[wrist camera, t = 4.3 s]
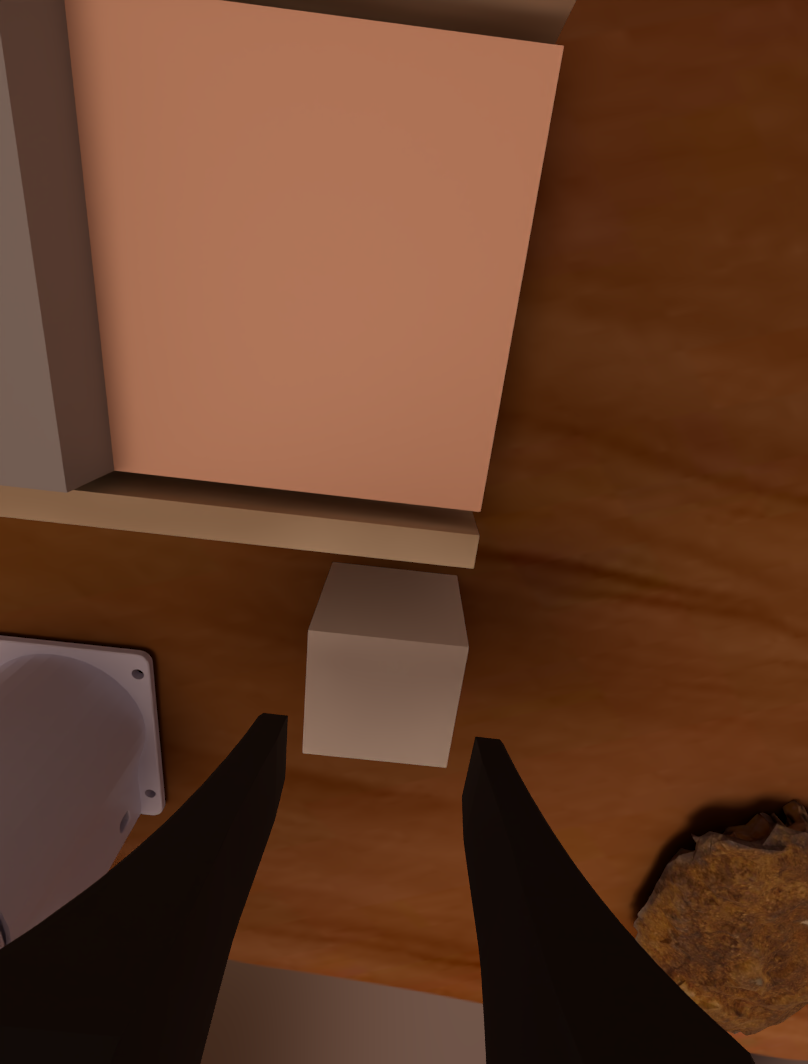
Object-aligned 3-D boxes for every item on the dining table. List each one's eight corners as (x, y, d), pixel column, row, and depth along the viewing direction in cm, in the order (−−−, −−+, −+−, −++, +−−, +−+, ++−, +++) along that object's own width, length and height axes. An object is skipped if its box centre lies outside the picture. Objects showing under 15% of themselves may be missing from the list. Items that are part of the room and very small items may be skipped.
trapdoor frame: (458, 504, 19) (473, 568, 14) (44, 457, 19) (-96, 505, 14) (527, 69, 14) (590, -75, 9) (-30, -4, 14) (-287, -196, 9)
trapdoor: (476, 500, 15) (490, 540, 12) (-7, 445, 15) (-107, 473, 12) (551, 69, 11) (596, -18, 8) (-97, -16, 11) (-275, -137, 8)
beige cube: (440, 676, 22) (446, 767, 18) (326, 664, 22) (302, 753, 17) (456, 574, 20) (468, 647, 16) (333, 560, 20) (308, 630, 16)
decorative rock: (778, 977, 31) (886, 788, 25) (835, 1068, 27) (976, 868, 22) (595, 972, 30) (670, 775, 25) (627, 1065, 26) (723, 855, 21)
